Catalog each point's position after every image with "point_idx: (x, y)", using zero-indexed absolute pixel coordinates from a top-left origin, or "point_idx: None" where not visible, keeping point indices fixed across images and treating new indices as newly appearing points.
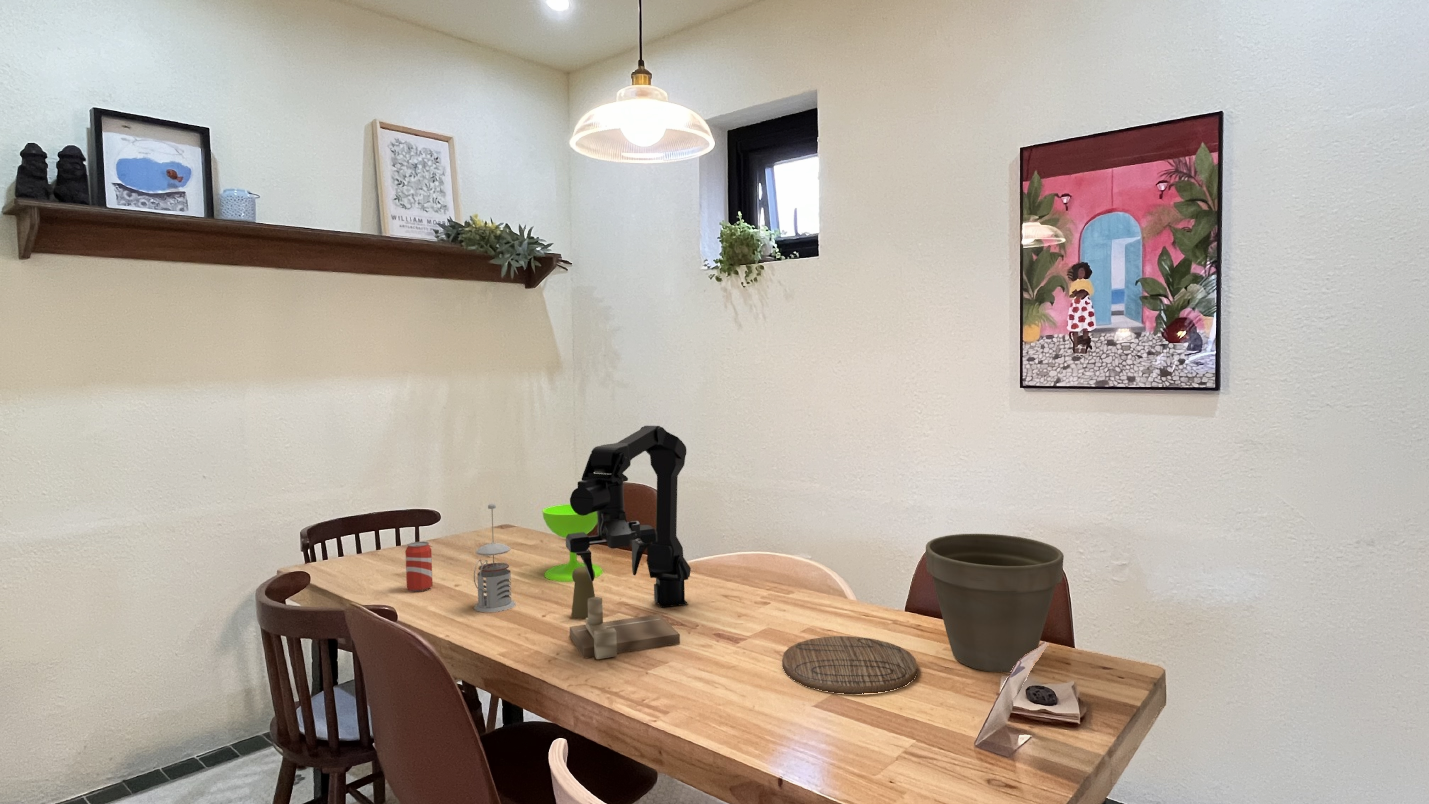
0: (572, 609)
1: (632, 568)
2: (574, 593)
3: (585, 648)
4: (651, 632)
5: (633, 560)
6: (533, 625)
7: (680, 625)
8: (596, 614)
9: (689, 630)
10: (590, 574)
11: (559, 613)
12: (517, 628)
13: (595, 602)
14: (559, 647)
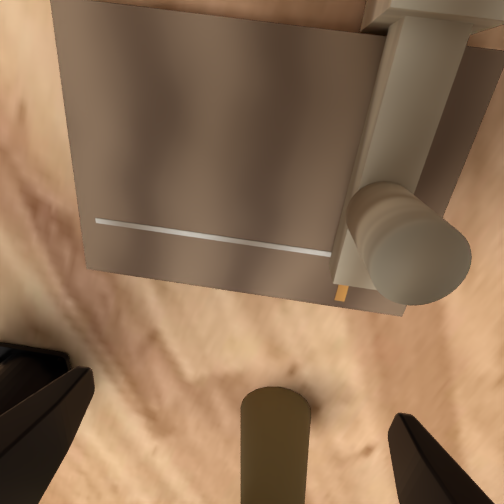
0: (309, 433)
1: (72, 431)
2: (305, 480)
3: (500, 51)
4: (163, 90)
5: (12, 499)
6: (428, 413)
7: (41, 199)
8: (408, 196)
9: (17, 135)
10: (452, 465)
11: (326, 445)
12: (475, 416)
13: (441, 220)
14: (479, 224)
